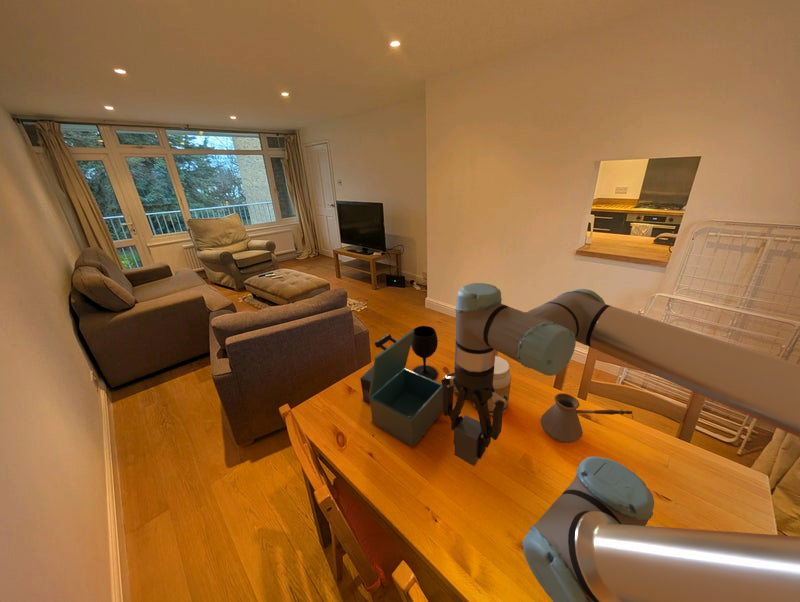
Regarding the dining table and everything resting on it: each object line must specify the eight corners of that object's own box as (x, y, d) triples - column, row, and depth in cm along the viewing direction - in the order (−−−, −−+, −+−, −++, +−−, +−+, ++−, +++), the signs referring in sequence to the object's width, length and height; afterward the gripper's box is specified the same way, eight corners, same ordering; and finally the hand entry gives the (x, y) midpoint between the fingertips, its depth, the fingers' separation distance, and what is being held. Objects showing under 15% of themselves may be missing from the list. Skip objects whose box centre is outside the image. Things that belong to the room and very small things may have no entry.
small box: (378, 383, 116) (376, 361, 112) (392, 388, 113) (390, 366, 108) (362, 400, 108) (359, 377, 103) (376, 406, 105) (374, 382, 100)
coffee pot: (537, 439, 88) (544, 401, 82) (540, 413, 98) (547, 377, 91) (623, 469, 79) (639, 428, 73) (618, 437, 88) (632, 398, 82)
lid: (414, 330, 97) (399, 321, 99) (377, 358, 83) (361, 346, 86) (405, 367, 106) (392, 358, 109) (370, 397, 93) (356, 385, 96)
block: (483, 450, 67) (486, 424, 64) (474, 466, 64) (476, 440, 60) (463, 439, 70) (465, 414, 67) (453, 455, 66) (454, 429, 63)
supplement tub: (513, 401, 103) (519, 362, 96) (498, 422, 95) (503, 381, 88) (481, 387, 111) (484, 349, 104) (465, 405, 103) (467, 365, 96)
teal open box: (443, 409, 101) (444, 385, 97) (412, 447, 88) (411, 420, 84) (405, 391, 111) (404, 367, 107) (372, 422, 98) (369, 397, 93)
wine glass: (409, 379, 117) (407, 336, 109) (415, 364, 126) (414, 323, 118) (434, 383, 114) (434, 339, 106) (439, 367, 123) (439, 326, 115)
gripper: (528, 367, 54) (515, 455, 64) (443, 340, 65) (442, 419, 74) (515, 390, 49) (503, 483, 58) (424, 356, 59) (426, 439, 69)
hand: (469, 447), depth 66 cm, fingers closed on block, 5 cm apart
